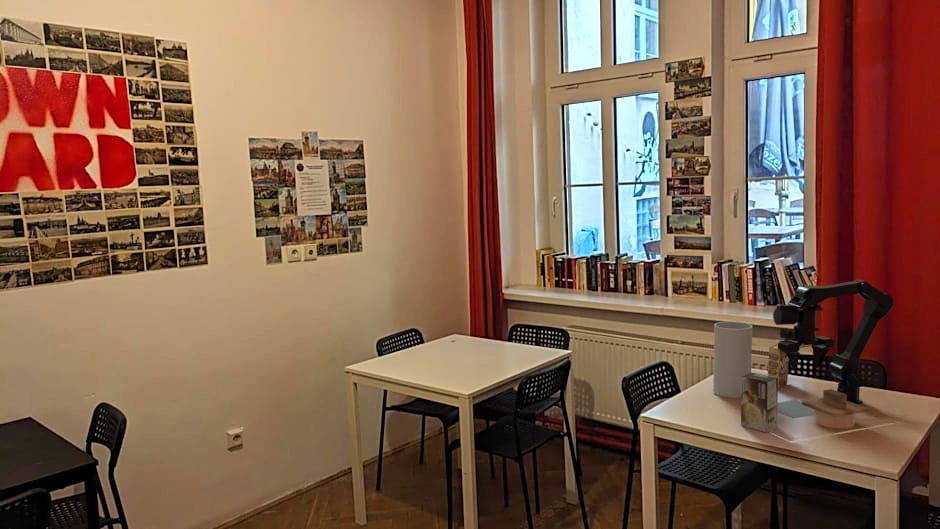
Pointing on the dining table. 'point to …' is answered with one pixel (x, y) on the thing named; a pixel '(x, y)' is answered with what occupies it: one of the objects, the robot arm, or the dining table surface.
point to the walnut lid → (834, 404)
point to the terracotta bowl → (834, 420)
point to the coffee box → (759, 401)
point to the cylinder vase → (731, 357)
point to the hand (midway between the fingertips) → (805, 369)
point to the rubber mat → (794, 409)
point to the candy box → (778, 365)
